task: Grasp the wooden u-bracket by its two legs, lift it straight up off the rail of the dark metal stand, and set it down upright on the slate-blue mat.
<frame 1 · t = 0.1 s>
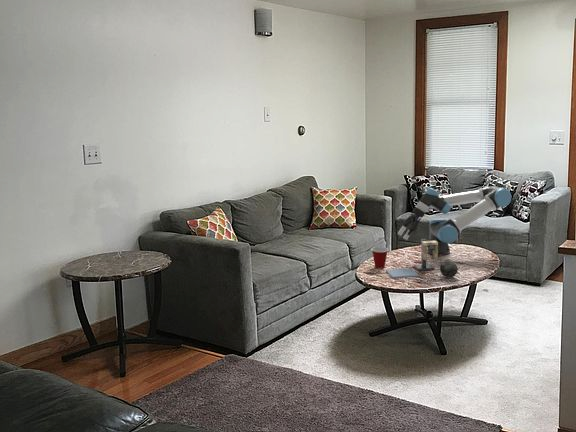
hand: (401, 236, 408), 15 cm above the table, tool tilted 35°, fingers open, 13 cm apart
decorative stone: (448, 277, 366), on the table
mat: (402, 274, 377), on the table
stand: (423, 268, 387), on the table
plastic cup: (380, 267, 395), on the table
wooden u-bracket: (429, 259, 374), point 9 cm above the table, touching stand
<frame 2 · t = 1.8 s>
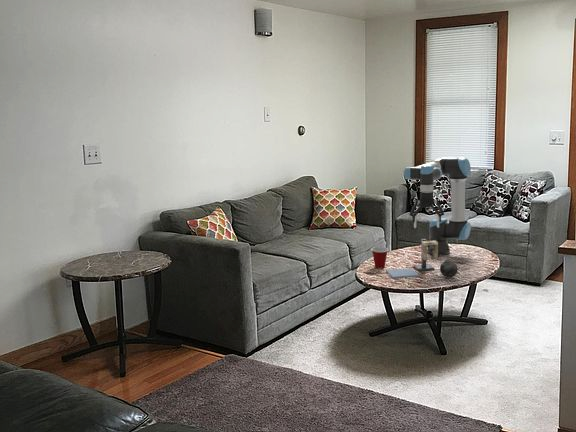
hand: (426, 227, 372), 28 cm above the table, tool pointing down, fingers open, 13 cm apart
nothing on the table moved.
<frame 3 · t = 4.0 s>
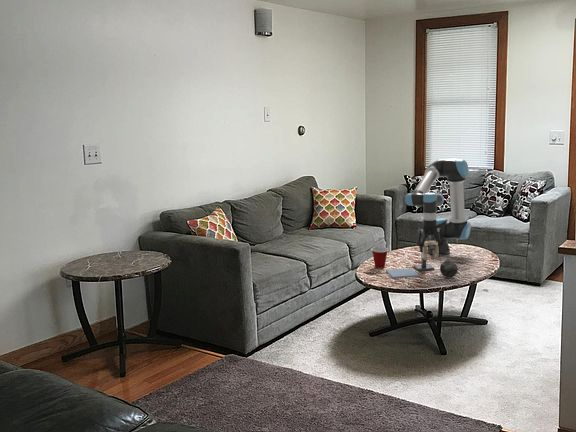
hand: (429, 257, 373), 10 cm above the table, tool pointing down, fingers closed on wooden u-bracket, 8 cm apart
wooden u-bracket: (429, 259, 374), point 9 cm above the table, touching gripper, stand
everything else where it was.
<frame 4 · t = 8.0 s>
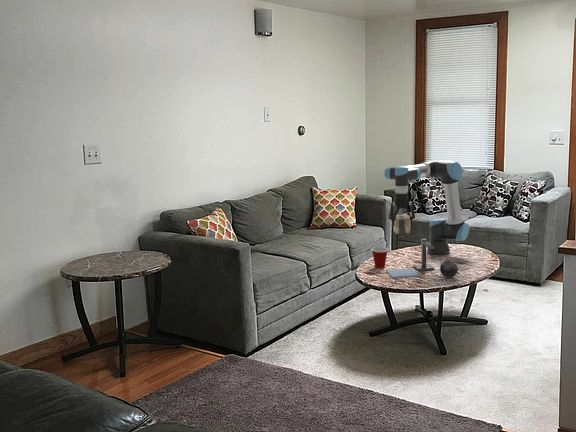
hand: (401, 230, 372), 26 cm above the table, tool pointing down, fingers closed on wooden u-bracket, 8 cm apart
wooden u-bracket: (401, 232, 372), point 25 cm above the table, touching gripper
everything else where it was.
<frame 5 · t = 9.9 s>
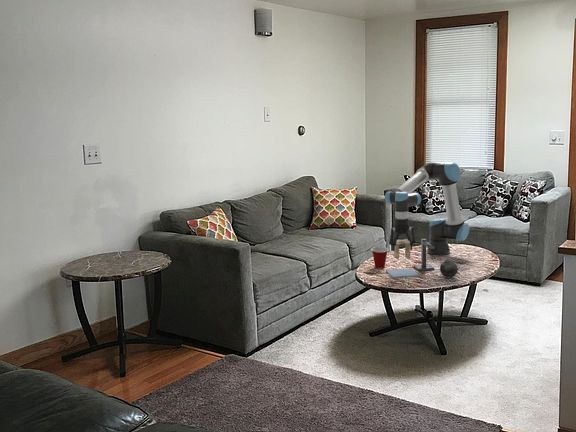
hand: (402, 255, 375), 11 cm above the table, tool pointing down, fingers closed on wooden u-bracket, 8 cm apart
wooden u-bracket: (402, 257, 375), point 10 cm above the table, touching gripper
everything else where it was.
when the fingers open (4 cm above the table, at t = 11.9 s): wooden u-bracket drops 1 cm, resting on mat.
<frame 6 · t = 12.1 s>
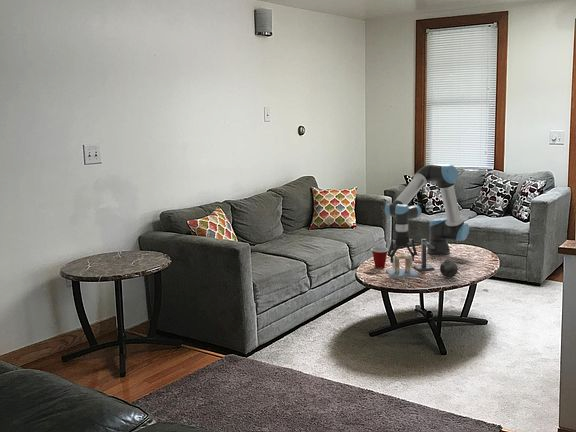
hand: (402, 267, 376), 4 cm above the table, tool pointing down, fingers open, 10 cm apart
wooden u-bracket: (402, 272, 377), point 1 cm above the table, touching mat
everything else where it was.
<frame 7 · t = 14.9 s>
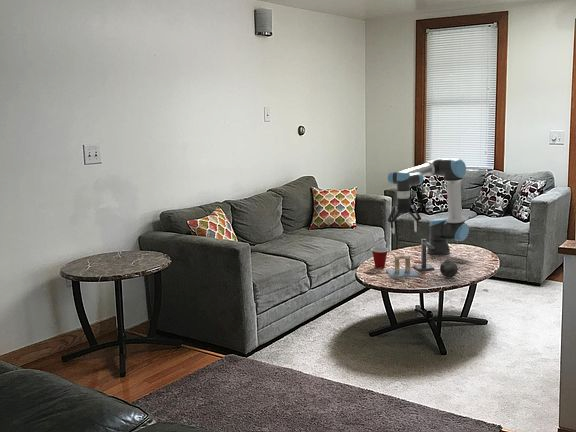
hand: (404, 232, 379), 24 cm above the table, tool pointing down, fingers open, 13 cm apart
nothing on the table moved.
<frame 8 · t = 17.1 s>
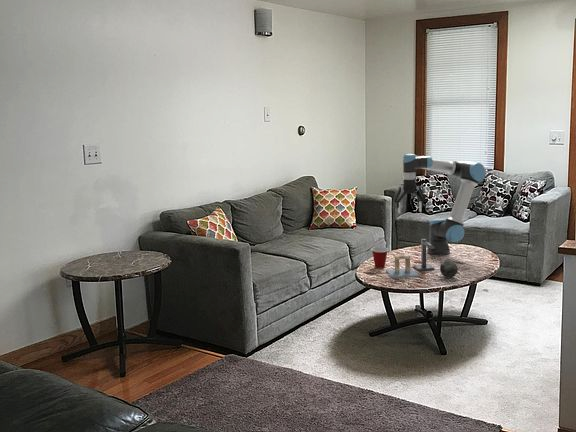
hand: (409, 212, 397), 33 cm above the table, tool pointing down, fingers open, 13 cm apart
nothing on the table moved.
at the end: wooden u-bracket inside the target area (0.0 cm from its centre), point 1.0 cm above the table; wooden u-bracket tilted 0°; the gripper is holding nothing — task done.
